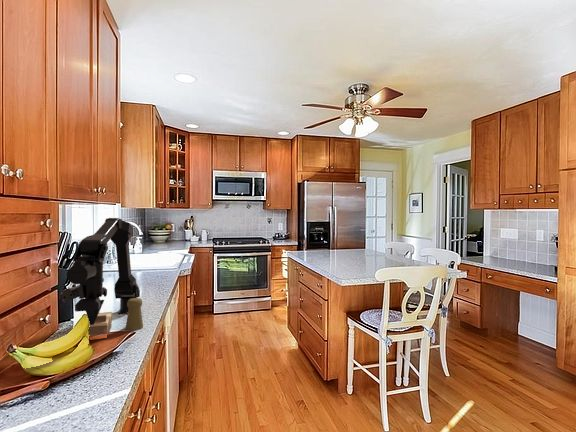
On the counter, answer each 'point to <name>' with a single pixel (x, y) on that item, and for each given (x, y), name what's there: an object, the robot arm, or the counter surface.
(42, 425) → the counter surface
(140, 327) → the brown bottle
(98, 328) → the toolbox
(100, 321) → the lid
